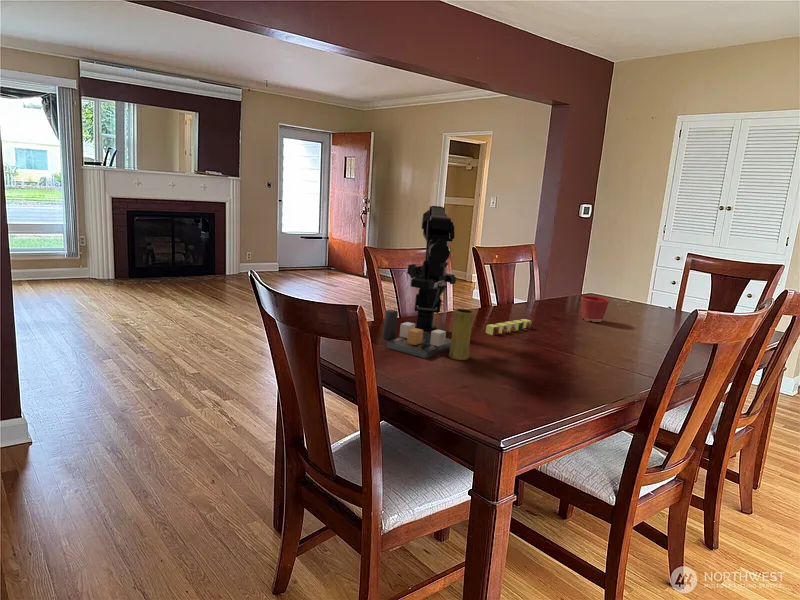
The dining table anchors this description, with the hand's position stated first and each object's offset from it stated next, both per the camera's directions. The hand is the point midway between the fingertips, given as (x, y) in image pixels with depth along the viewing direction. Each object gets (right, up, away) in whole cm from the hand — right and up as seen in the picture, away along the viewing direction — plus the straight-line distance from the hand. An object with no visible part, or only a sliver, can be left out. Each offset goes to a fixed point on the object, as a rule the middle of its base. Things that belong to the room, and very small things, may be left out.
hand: (431, 307), depth 165 cm
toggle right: (+2, -11, -4) cm, 12 cm away
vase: (+8, -15, -7) cm, 18 cm away
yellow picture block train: (+32, -10, +29) cm, 44 cm away
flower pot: (+71, -7, +58) cm, 92 cm away
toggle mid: (-5, -11, -5) cm, 13 cm away
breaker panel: (-3, -12, -1) cm, 13 cm away
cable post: (-13, -10, +5) cm, 17 cm away
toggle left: (-8, -9, +2) cm, 12 cm away
